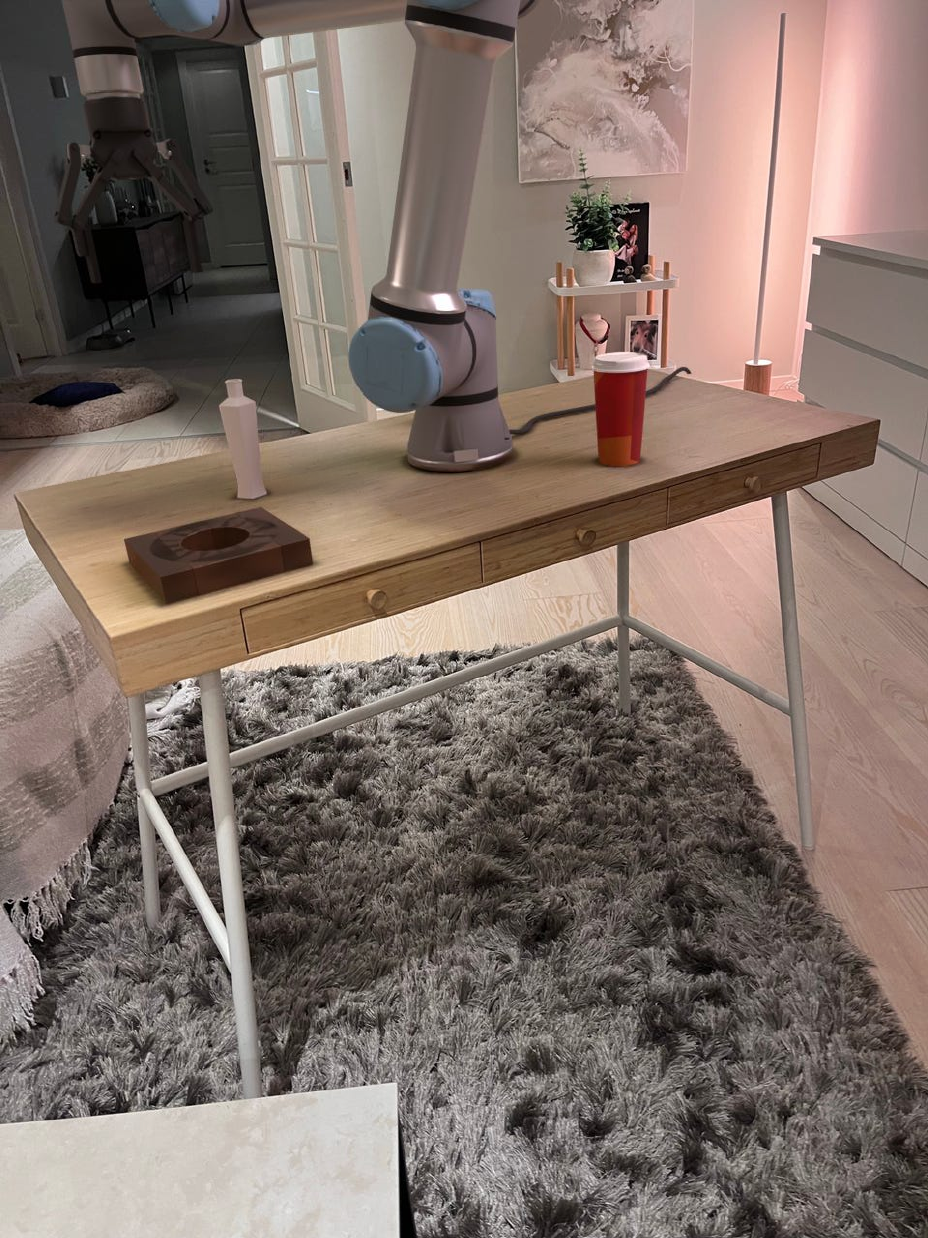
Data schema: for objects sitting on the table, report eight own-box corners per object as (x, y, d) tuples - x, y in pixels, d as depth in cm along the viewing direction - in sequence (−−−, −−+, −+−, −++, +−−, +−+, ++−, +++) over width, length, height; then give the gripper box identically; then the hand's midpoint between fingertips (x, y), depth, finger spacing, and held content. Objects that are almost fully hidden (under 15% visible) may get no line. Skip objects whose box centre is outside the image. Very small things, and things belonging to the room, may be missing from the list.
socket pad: (264, 530, 112) (260, 506, 110) (313, 564, 101) (309, 538, 99) (129, 564, 104) (123, 538, 103) (166, 604, 93) (160, 576, 92)
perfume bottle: (254, 487, 128) (236, 375, 121) (275, 492, 125) (257, 378, 119) (226, 496, 125) (207, 382, 118) (247, 501, 122) (228, 385, 116)
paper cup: (628, 449, 133) (630, 348, 127) (658, 462, 127) (661, 356, 121) (580, 458, 131) (579, 355, 125) (608, 472, 124) (609, 364, 118)
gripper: (200, 98, 126) (226, 266, 135) (2, 102, 115) (45, 285, 124) (219, 93, 120) (245, 268, 130) (12, 96, 109) (57, 289, 118)
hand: (148, 277), depth 127 cm, fingers open, 13 cm apart
